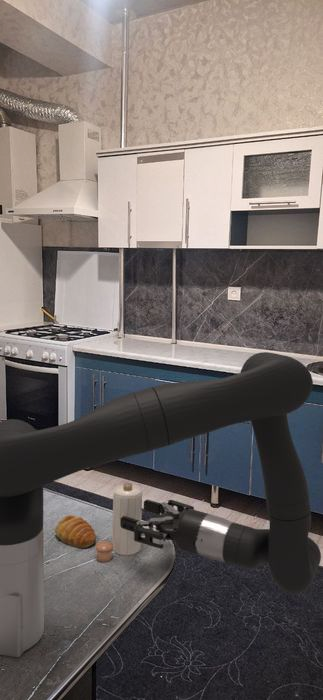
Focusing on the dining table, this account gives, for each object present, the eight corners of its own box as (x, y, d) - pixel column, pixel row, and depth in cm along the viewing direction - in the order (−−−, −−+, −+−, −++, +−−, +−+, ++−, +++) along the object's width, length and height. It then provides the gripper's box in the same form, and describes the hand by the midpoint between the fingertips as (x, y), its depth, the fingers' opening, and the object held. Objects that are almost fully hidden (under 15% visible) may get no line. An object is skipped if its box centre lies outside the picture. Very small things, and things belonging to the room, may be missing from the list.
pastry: (104, 541, 104) (104, 524, 104) (79, 554, 99) (78, 537, 99) (76, 526, 110) (76, 509, 110) (51, 537, 105) (50, 520, 105)
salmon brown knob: (110, 563, 96) (110, 550, 96) (93, 561, 97) (93, 548, 96) (114, 553, 99) (114, 541, 99) (98, 551, 100) (98, 539, 100)
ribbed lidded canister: (137, 556, 99) (138, 491, 97) (109, 553, 100) (110, 489, 98) (142, 541, 104) (144, 480, 102) (116, 538, 105) (117, 477, 103)
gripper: (222, 501, 98) (151, 482, 106) (190, 532, 85) (113, 509, 93) (220, 537, 99) (150, 515, 107) (189, 573, 87) (112, 546, 94)
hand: (133, 512), depth 100 cm, fingers open, 8 cm apart
